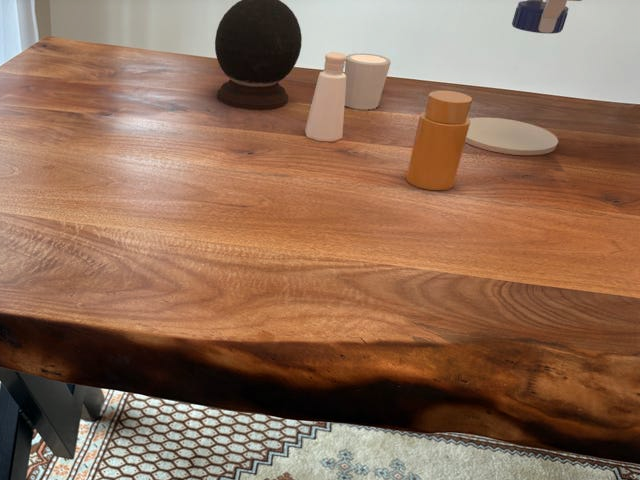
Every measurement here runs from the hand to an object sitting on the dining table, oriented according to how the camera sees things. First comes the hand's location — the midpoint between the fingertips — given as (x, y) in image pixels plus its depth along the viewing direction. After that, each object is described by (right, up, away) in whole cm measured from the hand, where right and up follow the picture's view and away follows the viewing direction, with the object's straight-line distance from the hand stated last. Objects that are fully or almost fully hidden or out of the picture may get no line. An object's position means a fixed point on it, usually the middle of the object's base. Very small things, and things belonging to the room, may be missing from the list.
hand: (537, 25), depth 102 cm
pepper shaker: (-27, -13, +7) cm, 31 cm away
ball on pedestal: (-36, -3, +20) cm, 41 cm away
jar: (-16, -22, -6) cm, 28 cm away
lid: (0, +2, -1) cm, 2 cm away
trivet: (0, -12, +9) cm, 15 cm away
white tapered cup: (-18, -4, +20) cm, 27 cm away
